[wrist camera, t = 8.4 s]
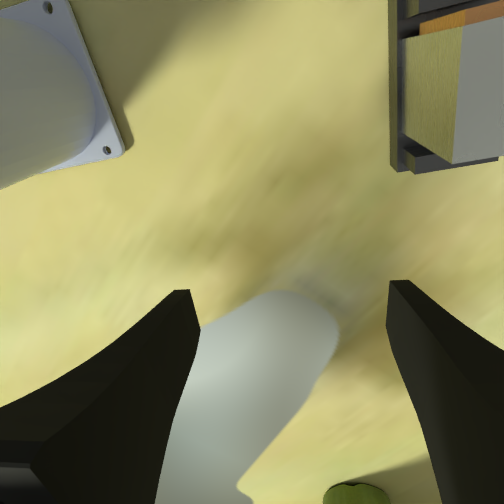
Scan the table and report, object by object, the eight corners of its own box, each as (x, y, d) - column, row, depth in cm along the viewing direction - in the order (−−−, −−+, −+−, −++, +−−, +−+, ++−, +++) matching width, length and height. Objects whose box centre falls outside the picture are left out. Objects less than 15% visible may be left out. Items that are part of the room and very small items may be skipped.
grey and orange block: (401, 132, 16) (451, 164, 11) (402, 28, 14) (463, 9, 9) (479, 117, 16) (571, 144, 11) (491, 6, 14) (612, -28, 8)
